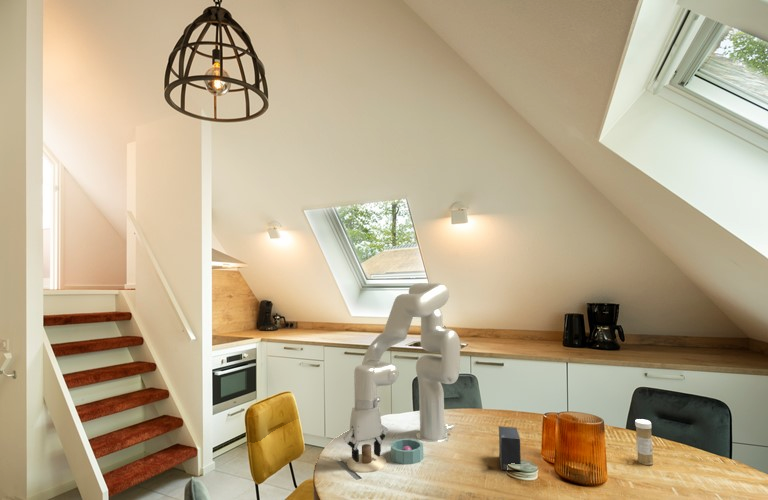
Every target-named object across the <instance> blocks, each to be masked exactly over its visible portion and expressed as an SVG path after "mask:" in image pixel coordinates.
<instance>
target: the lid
mask: <svg viewBox="0 0 768 500" xmlns="http://www.w3.org/2000/svg"><path fill="white" fill-rule="evenodd" d="M346 461H347V462H346V465H347V467H348V469H349V470H351V471H353V472H356V473H364V474H365V473H374V472H378V471H381V470H383V469H384V468H385V467H386V466H387V459H386V458H385V457H384V456H382V455H381V454H380V456H379V457H378V456H377V455H375V454H374V453H372V445H371V444H369V443H365V444H362V445H361V453H359V462H356V461H354V460H353V458H352V456H351V457H350V458H348V459H347V460H346Z"/></svg>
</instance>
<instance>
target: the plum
mask: <svg viewBox="0 0 768 500" xmlns="http://www.w3.org/2000/svg"><path fill="white" fill-rule="evenodd" d="M402 450H412V449H411V447H409V446H404V447H403V448H402Z"/></svg>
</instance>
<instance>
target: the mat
mask: <svg viewBox="0 0 768 500" xmlns="http://www.w3.org/2000/svg"><path fill="white" fill-rule="evenodd" d="M336 463H337V464H338V465H340V466H341V468H342V469H344V470H345V471H346V472H348V474H349V475H351V476H352V477H353V478H354V479H355V480H356V481H357V480H360V479H362V477H361V476H360V475H359V474H358V472H356V471H354V472H353V471H351V470H349V469H348V467H347V463H345V462H344V460H342V459H341V460H337V461H336Z"/></svg>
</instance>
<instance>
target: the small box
mask: <svg viewBox="0 0 768 500" xmlns="http://www.w3.org/2000/svg"><path fill="white" fill-rule="evenodd" d="M498 436H499V437H498V443H499V444H498V445H499V446H498V447H499V452H498V454H499V456H498V457H499V465H500V470H501V471H508V470H507V465H508V464H511V463H515V464H522V457H521V455H522V454H521V438H520V435H519V431H518V427H513V426H512V427H511V426H510V427H509V426H499V425H498Z"/></svg>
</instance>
